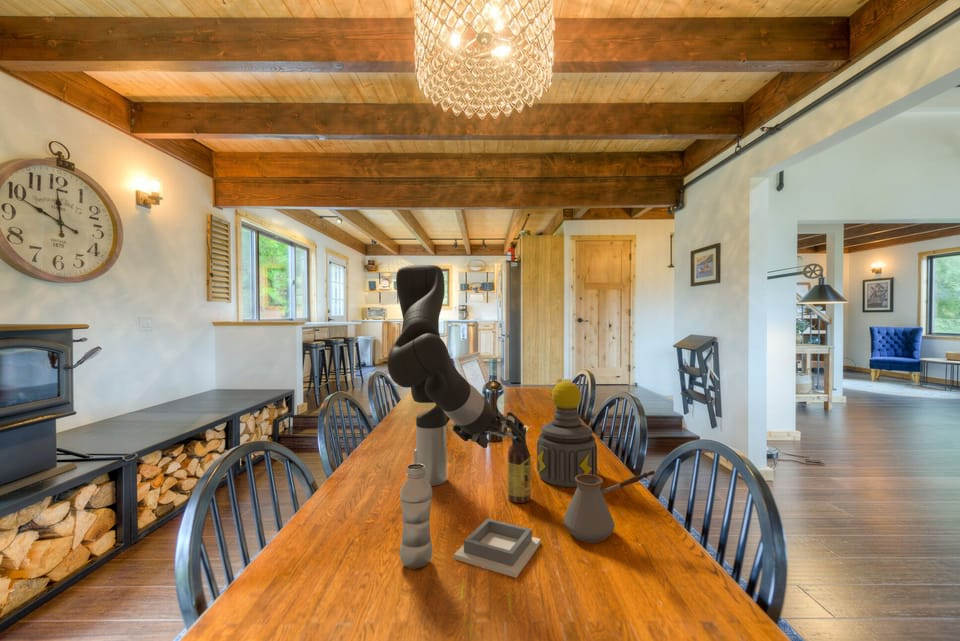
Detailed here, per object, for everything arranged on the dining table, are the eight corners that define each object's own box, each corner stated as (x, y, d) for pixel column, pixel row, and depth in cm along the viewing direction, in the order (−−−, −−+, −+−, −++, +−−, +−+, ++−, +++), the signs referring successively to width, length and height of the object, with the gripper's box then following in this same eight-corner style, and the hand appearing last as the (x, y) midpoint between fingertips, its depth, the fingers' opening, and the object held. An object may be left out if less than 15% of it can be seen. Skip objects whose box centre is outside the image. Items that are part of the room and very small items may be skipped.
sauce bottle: (529, 505, 114) (529, 431, 114) (506, 503, 115) (505, 430, 115) (531, 495, 120) (531, 424, 120) (509, 493, 121) (509, 423, 121)
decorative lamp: (572, 462, 146) (572, 375, 146) (611, 482, 129) (610, 383, 129) (525, 471, 138) (524, 379, 138) (559, 493, 121) (559, 388, 121)
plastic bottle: (401, 555, 90) (400, 461, 90) (433, 554, 91) (432, 460, 90) (397, 574, 84) (397, 473, 83) (432, 572, 84) (431, 471, 84)
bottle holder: (454, 559, 89) (454, 542, 89) (484, 528, 101) (484, 514, 101) (516, 577, 82) (516, 559, 82) (540, 543, 95) (540, 527, 95)
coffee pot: (567, 546, 93) (567, 478, 93) (560, 521, 105) (560, 460, 105) (667, 549, 92) (667, 480, 92) (649, 523, 104) (649, 462, 103)
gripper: (501, 385, 82) (534, 424, 93) (440, 394, 89) (477, 429, 99) (496, 421, 78) (531, 457, 88) (432, 427, 84) (472, 460, 94)
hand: (503, 442), depth 93 cm, fingers open, 8 cm apart
